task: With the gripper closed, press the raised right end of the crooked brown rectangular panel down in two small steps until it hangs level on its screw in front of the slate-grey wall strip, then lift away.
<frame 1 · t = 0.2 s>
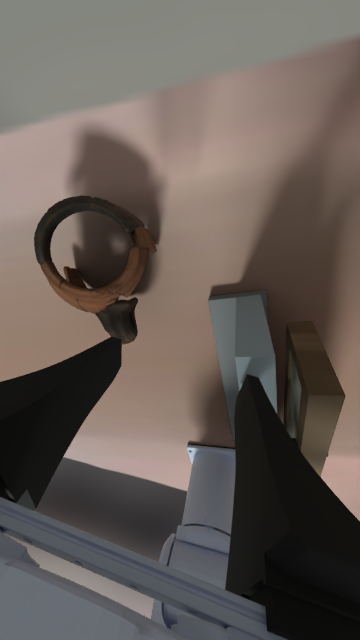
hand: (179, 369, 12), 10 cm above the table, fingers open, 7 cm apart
pottery mug: (121, 268, 22), on the table
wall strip: (255, 376, 24), on the table
brown rectangular panel: (295, 419, 18), point 6 cm above the table, hinge at 10.0°
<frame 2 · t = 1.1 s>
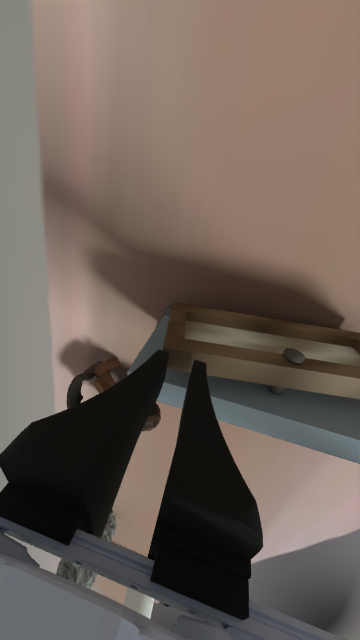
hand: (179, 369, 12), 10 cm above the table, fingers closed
pottery mug: (129, 384, 30), on the table
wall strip: (260, 342, 22), on the table
bottle: (148, 561, 67), on the table
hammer: (96, 519, 61), on the table
brown rectangular panel: (274, 353, 16), point 6 cm above the table, hinge at 10.0°
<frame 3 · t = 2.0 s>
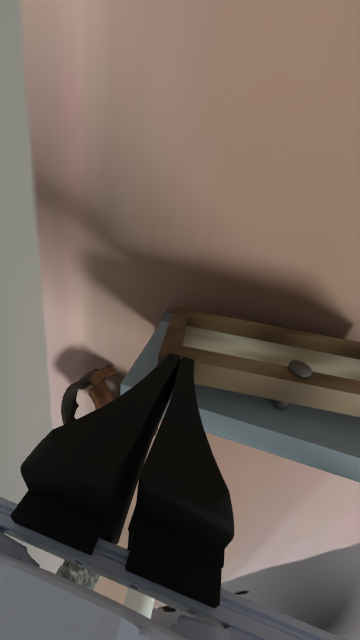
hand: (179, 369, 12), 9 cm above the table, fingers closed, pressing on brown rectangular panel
pottery mug: (126, 392, 29), on the table
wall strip: (262, 350, 21), on the table
bottle: (147, 567, 66), on the table
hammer: (94, 524, 60), on the table
brown rectangular panel: (280, 364, 15), point 6 cm above the table, hinge at 6.8°, touching gripper
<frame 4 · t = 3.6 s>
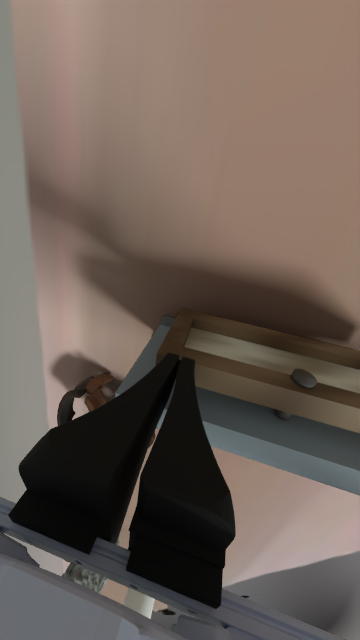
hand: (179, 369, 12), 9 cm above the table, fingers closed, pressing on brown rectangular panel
pottery mug: (123, 398, 29), on the table
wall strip: (263, 355, 20), on the table
bottle: (146, 571, 65), on the table
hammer: (95, 529, 59), on the table
brown rectangular panel: (285, 372, 14), point 6 cm above the table, hinge at 0.8°, touching gripper
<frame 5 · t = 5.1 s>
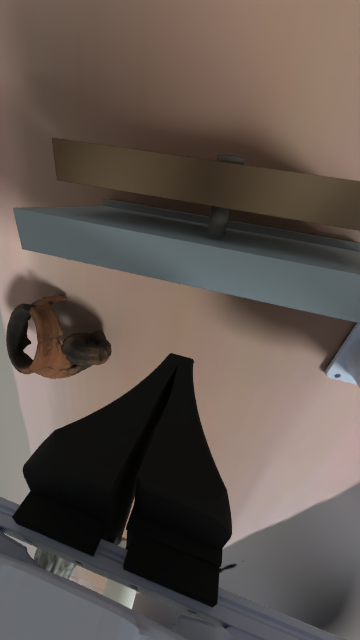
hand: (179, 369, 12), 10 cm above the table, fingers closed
pottery mug: (84, 328, 27), on the table
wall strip: (219, 238, 18), on the table
bottle: (133, 546, 63), on the table
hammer: (79, 502, 57), on the table
brown rectangular panel: (224, 200, 12), point 6 cm above the table, hinge at 0.8°
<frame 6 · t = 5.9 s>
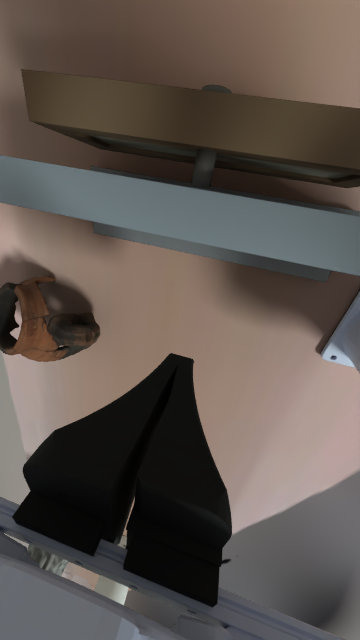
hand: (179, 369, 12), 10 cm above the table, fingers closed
pottery mug: (73, 312, 26), on the table
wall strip: (212, 209, 17), on the table
bottle: (127, 540, 62), on the table
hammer: (74, 496, 56), on the table
brown rectangular panel: (212, 152, 11), point 6 cm above the table, hinge at 0.8°
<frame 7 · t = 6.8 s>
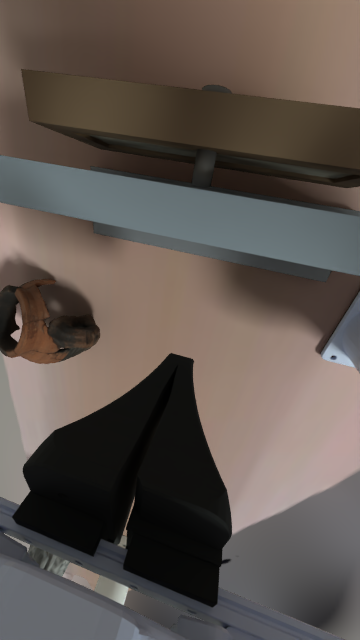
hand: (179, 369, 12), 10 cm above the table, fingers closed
pottery mug: (73, 314, 26), on the table
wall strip: (212, 209, 17), on the table
bottle: (127, 540, 62), on the table
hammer: (74, 496, 56), on the table
brown rectangular panel: (212, 152, 11), point 6 cm above the table, hinge at 0.8°
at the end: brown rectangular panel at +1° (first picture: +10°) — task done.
